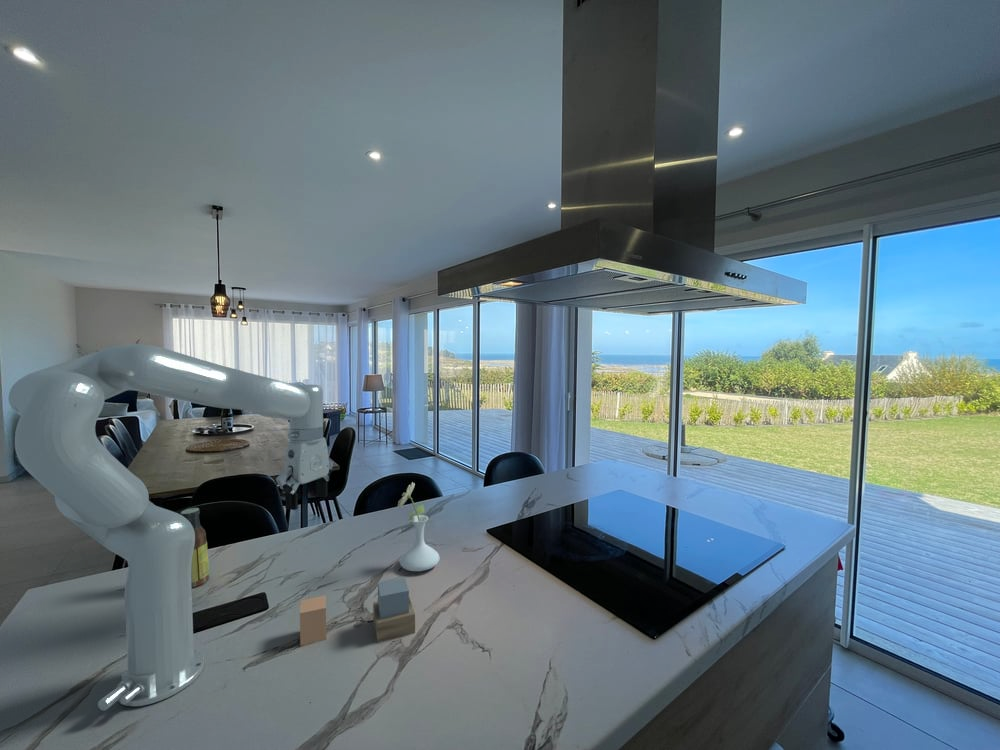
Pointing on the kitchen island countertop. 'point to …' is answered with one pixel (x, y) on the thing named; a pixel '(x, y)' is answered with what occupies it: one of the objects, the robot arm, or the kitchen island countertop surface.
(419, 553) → the flower in vase
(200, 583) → the sauce bottle
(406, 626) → the light brown wooden plinth
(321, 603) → the peach rectangular block
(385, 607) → the slate-grey cube
